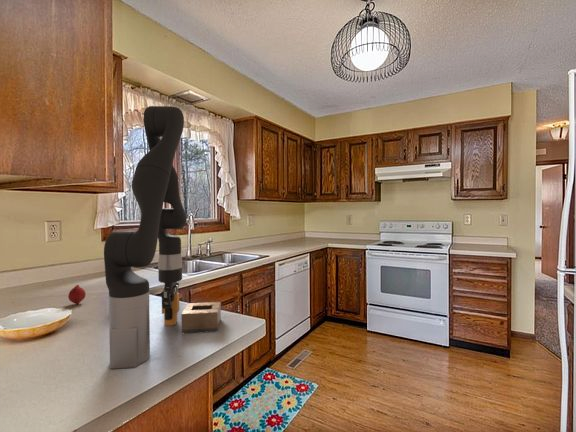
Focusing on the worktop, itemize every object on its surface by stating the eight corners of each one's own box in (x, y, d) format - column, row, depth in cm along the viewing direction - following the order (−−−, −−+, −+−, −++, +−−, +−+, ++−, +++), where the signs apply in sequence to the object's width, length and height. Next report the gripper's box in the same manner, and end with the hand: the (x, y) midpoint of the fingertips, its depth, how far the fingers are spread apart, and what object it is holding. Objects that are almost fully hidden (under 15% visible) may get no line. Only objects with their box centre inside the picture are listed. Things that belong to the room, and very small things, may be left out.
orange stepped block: (177, 324, 103) (177, 295, 103) (162, 325, 103) (161, 295, 102) (179, 321, 106) (179, 292, 106) (164, 322, 106) (164, 293, 105)
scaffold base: (217, 331, 97) (217, 312, 97) (181, 333, 96) (181, 313, 96) (220, 319, 108) (220, 302, 108) (188, 321, 107) (188, 303, 106)
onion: (76, 306, 123) (76, 286, 123) (64, 305, 124) (64, 286, 124) (89, 302, 129) (88, 283, 129) (77, 301, 130) (77, 282, 130)
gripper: (176, 270, 97) (177, 323, 98) (186, 263, 112) (186, 309, 112) (152, 271, 96) (152, 325, 97) (164, 263, 111) (165, 310, 111)
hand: (170, 316), depth 104 cm, fingers open, 5 cm apart
